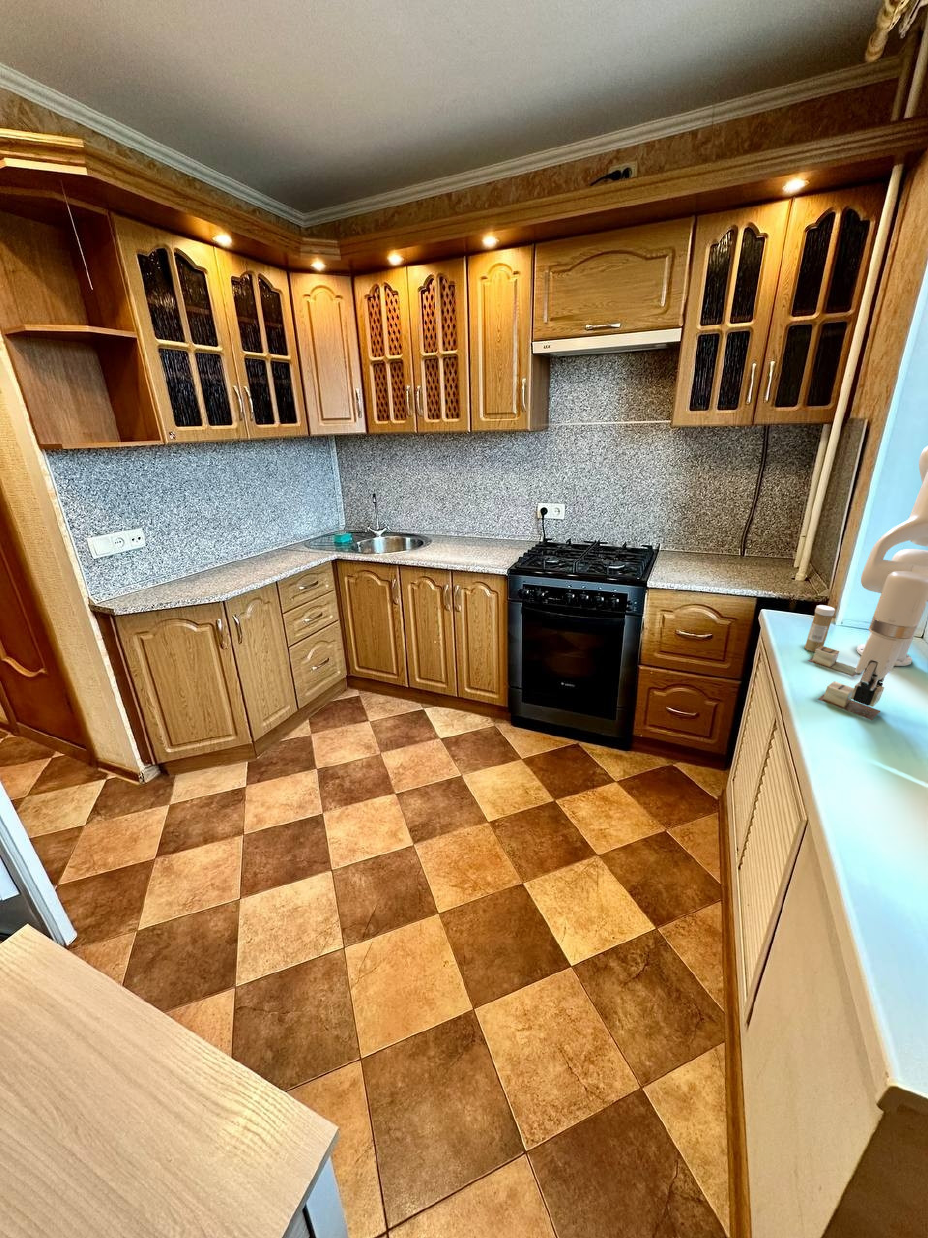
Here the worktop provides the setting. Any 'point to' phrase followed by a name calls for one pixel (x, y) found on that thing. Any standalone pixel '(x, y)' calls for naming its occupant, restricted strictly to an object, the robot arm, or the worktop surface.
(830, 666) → the beige narrow stepped slab
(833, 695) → the near stepped slab
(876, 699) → the small square block
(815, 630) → the sprinkles bottle
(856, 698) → the robot arm
